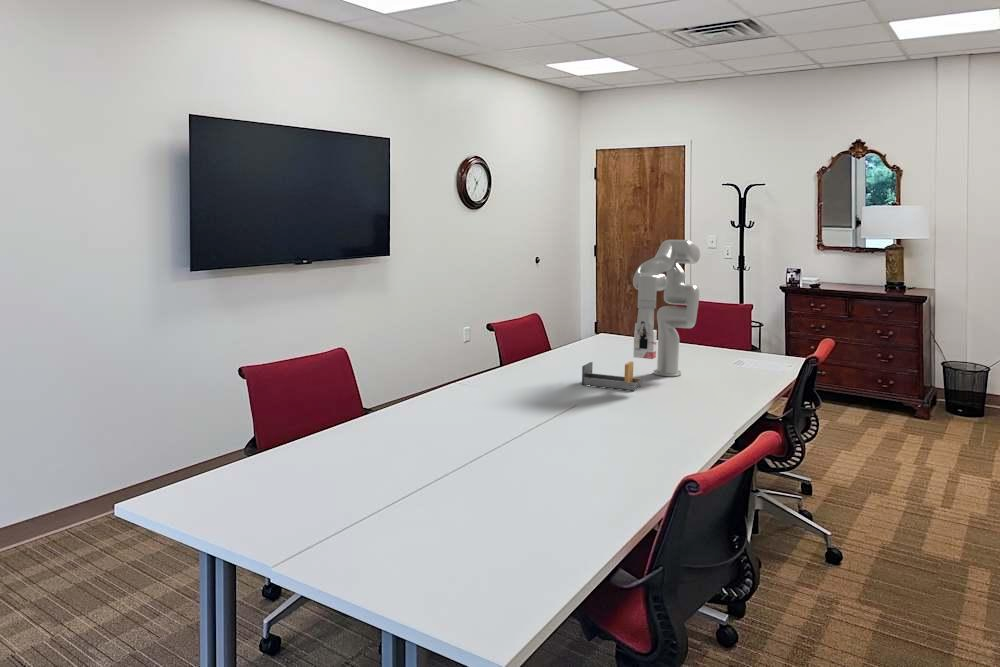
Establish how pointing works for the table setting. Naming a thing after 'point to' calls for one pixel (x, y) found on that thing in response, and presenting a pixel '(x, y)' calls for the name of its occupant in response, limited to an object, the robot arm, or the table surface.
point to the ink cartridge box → (651, 343)
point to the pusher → (629, 372)
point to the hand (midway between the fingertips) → (645, 347)
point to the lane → (607, 380)
